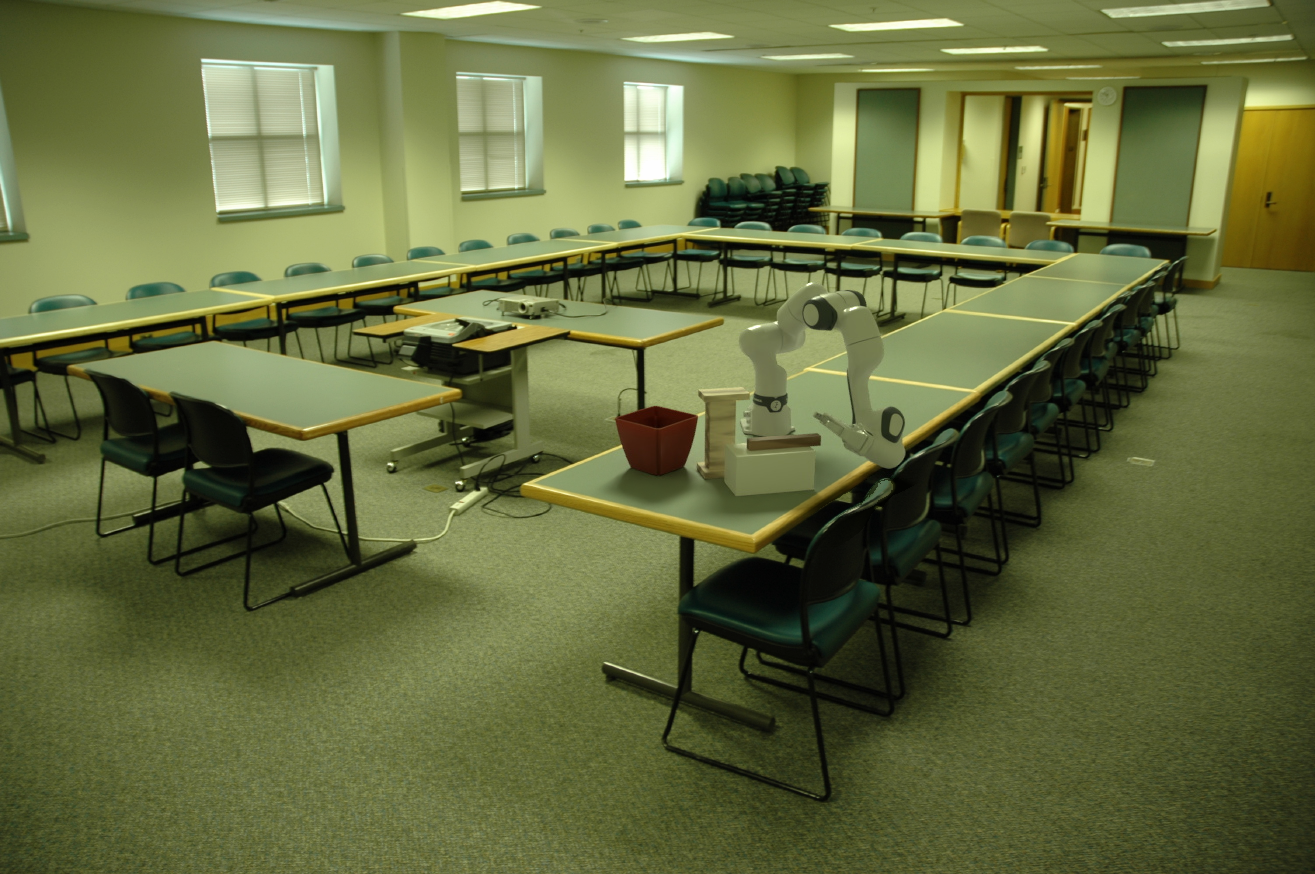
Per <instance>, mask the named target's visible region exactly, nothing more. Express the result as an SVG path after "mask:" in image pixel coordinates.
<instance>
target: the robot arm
mask: <svg viewBox="0 0 1315 874" xmlns="http://www.w3.org/2000/svg"><path fill="white" fill-rule="evenodd" d="M807 328H809V329H811V330H813V331H814V330H816V331H829V332H830V331H833V329H837V330H838V331H839V332H840V333H841V336H842V339H843V342H844V346H845V351H846V355H847V369H846V380H847V388H848V395H849V400H850V406H851V414H852V418H851V419H852V421H851V424H850V425H848V424H847V423H845V422H844V421H843V420H840V419H839V418H837V417H836V416H833V415H832V414H830V413H828V412H824V413H821V412H818V411H815V412H814V413H813V417H814V418H815V419H816V420H818V421H819V423H820V424H821V425H822V426H824V427H825V428H827V429H828V430H830V431H831V432H832V433H833V434H835V435H836V436H837V437H839V438H840V439H841V440H842V443H843V447H844V448H845V450H847V451H849V452H852V453H853V454H855V455H857V456H858V457H864V458H865V459H866V460H867V461H869V462H870V463H873V464H875V465H877V466H879V467H881V468H885V469H893V468H896V467H898V465H900V464H901V463H902V462H903V461H904V458H905V457H906V449H905V446H904V443H903V441H904V440H903V436H904V433H903V432H904V430H905V427H906V420H905V419H906V418H905V416H904V414H903V413H902V411H901V410H900V409H899V408H897V407H895V406H885V407H882V408H877V409H875V410H873V408H872V403H871V402H872V401H871V398H870V390H869V381H870V378H871V376H872V374H873V373H874V371H876V370H877V368H879V366H880V365H881V364H882V363H883V359H884V357H885V347H884V343H883V339H882V336H881V335H882V334H881V333H880V329H879V326H878V324H877V321H876V319H875V317H874V315H873V312H872V311H871V310H870V308H869V307H867V299H866V298H865V296H864V295H863V294H862V293H861V292H859V291H858V290H851V289H844V290H836V291H831V292H829V291H828V290H827V288H826V287H825V286H824V285H823V284H821V283H819V282H813V281H812V282H808V283H806V284H804V285H803V286H802V287H800V288H799V289H798V290H796V291H795V292H794V293H793V294H791V296H790V297H788V299H787V300H786V301H785V302H784V303H783V304H782V305H781V306H780V308H778V309H777V312H776V321H772V322H767V323H762V324H761V323H760V324H754V325H751V326H749V327H747V328H744V329H742V331H741V333H740V334H739V337H738V346H739V348H740V350H741V352H742V353H743V354H744V355H745V356H746V357H747V358H748V359H749V360H750V362H751V363H752V367H753V370H754V392H753V395H752V402H751V404H749V406H747V408H746V410H745V411H743V418H740V421H739V423H740V426H741V428H742V432H743V433H744V434H747V435H755V436H758V437H770V436H785V435H790V433H791V432H793V431H795V430H796V427H795V426H794V425H792V409H791V407H790V406H789V405H788V400H789V394H788V390H787V388H788V387H787V386H788V372H787V370H786V369H785V368H784V367H783V366H782V365H780V364H778V361H777V355H779V354H787V353H791V352H795V351H797V350H799V349H801V348H802V347H803V346H804V344H805V342H806V330H807Z"/></svg>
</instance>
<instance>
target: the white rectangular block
mask: <svg viewBox="0 0 1315 874" xmlns="http://www.w3.org/2000/svg"><path fill="white" fill-rule="evenodd" d="M816 454H817V453H816V450H815V449H814V448H813V447H812V446H810V447H797V448H783V449H770V450H756V451H749V450H748V449H747V442H742V443H735V444H726V445H725V477H724V482H723V483H725V484H726V486H727V487H728V489H729V490H730V491H731V493H733V495H734V496H735V497H741V496H742V497H744V496H745V497H746V496H755V495H766V494H767V495H768V494H777V493H778V494H779V493H791V492H799V491H813V490H815V473H816V472H815V470H816Z"/></svg>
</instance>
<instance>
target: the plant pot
mask: <svg viewBox="0 0 1315 874" xmlns="http://www.w3.org/2000/svg"><path fill="white" fill-rule="evenodd" d="M698 419H699V415H698V414H693V413H690V412H685V411H682V410H681V411H680V410H676V409H671V408H668V407H664V406H659V405H652V406H648V407H645V408H642V409H638V410H635V411H632V412H629V413H626V414H622V415H620V416H617V417H615V419H614V420H615V425H616V426H615V427H616V431H617V433H618V437H619V440H620V444H621V446H622V450H623V452H624V454H625V455H624V456H625V457H626V460H627V463H628V465H629V467H630V468H631V469H634V470H637V471H640V472H643V473H647V474H649V475H654V476H657V477H658V476H662V475H665V474H668V473H671V472H673V471H676V470H678V469H680V468H684V467H685V465H686V463H687V461H688V459H689V456H690V453H691V451H692V446H693V444H694V439H695V435H696V431H697V426H698V422H699V420H698Z"/></svg>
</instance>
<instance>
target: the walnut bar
mask: <svg viewBox="0 0 1315 874" xmlns="http://www.w3.org/2000/svg"><path fill="white" fill-rule="evenodd" d="M746 443H747V449H748V450H749V451H756V450H770V449H783V448H797V447H821V446H822V435H820V434H819V433H818V432H816V433H803V434H787V435H783V436H770V437H765V436H758V437H747V438H746Z"/></svg>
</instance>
